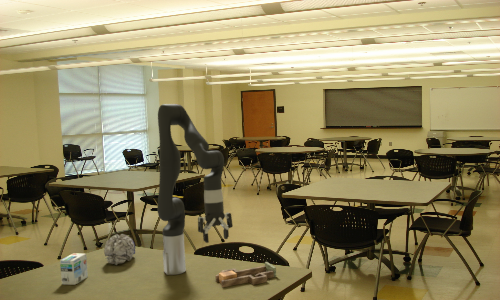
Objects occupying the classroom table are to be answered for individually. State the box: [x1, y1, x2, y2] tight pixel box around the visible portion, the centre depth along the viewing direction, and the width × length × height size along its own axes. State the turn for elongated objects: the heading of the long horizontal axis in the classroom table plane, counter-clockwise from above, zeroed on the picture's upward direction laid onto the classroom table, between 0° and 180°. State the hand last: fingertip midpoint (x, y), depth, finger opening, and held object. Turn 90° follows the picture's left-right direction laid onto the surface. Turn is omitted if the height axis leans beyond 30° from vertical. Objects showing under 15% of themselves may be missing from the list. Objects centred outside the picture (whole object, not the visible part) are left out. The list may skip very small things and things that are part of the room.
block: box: [218, 270, 237, 284], centre depth 193 cm, size 6×5×4 cm
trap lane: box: [214, 261, 277, 288], centre depth 197 cm, size 24×16×4 cm, turn 113°
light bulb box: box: [59, 252, 89, 286], centre depth 204 cm, size 11×7×11 cm, turn 168°
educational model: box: [103, 233, 136, 266], centre depth 228 cm, size 14×20×15 cm
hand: (216, 240), depth 187 cm, fingers open, 8 cm apart
